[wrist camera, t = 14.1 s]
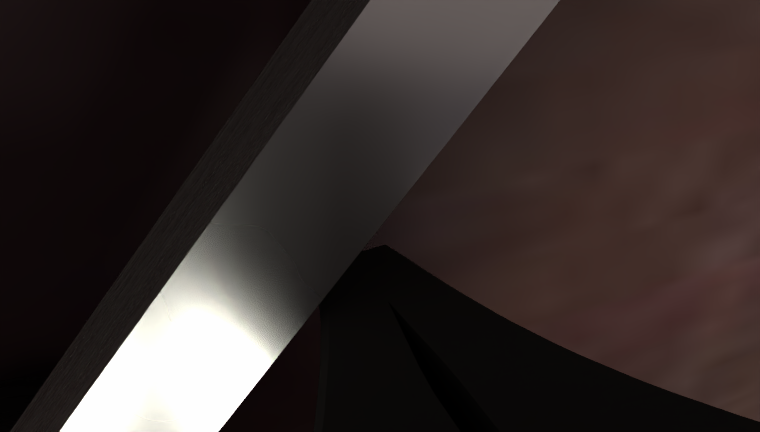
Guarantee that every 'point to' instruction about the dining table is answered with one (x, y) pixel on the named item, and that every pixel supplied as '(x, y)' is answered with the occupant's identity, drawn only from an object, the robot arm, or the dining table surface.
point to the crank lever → (275, 212)
